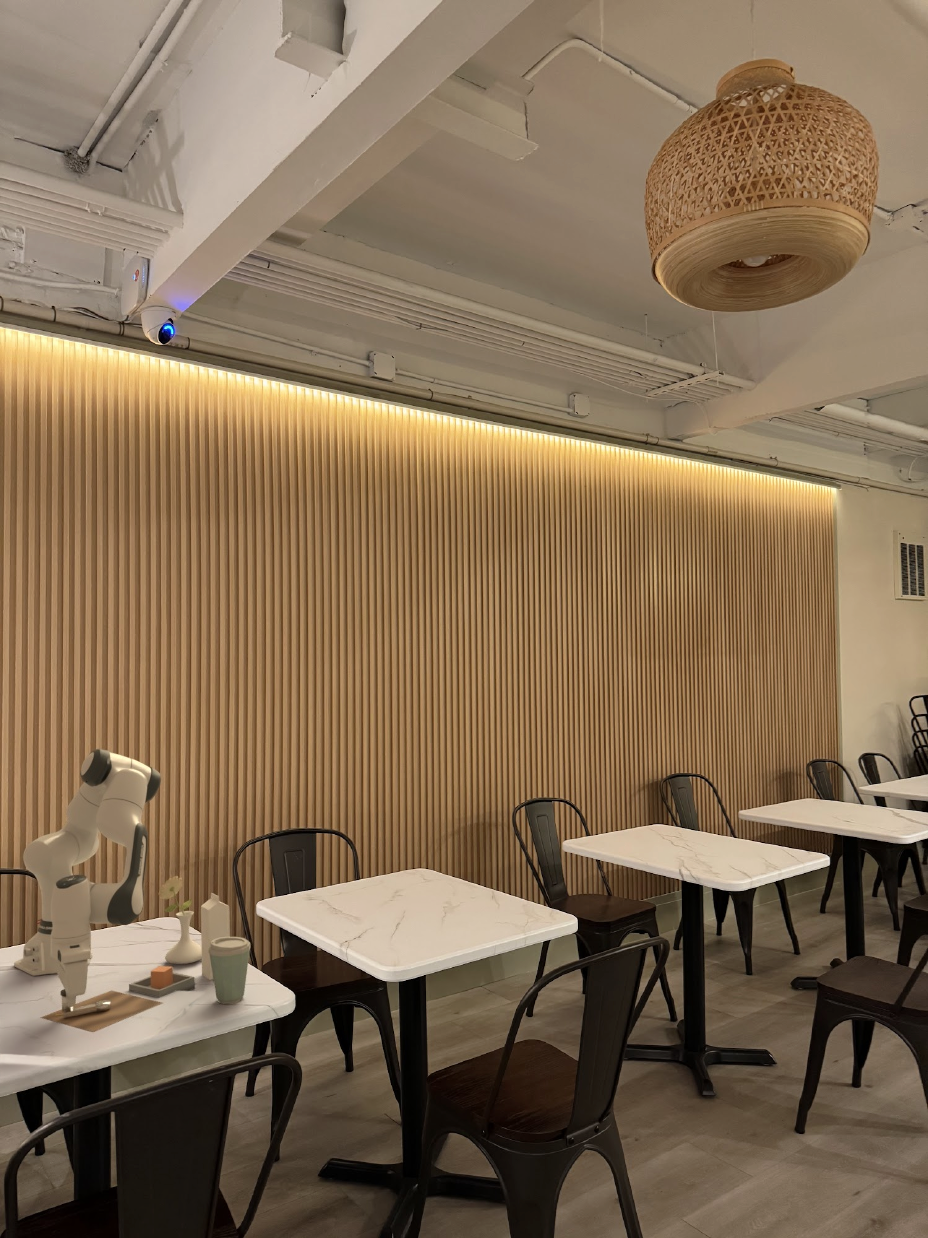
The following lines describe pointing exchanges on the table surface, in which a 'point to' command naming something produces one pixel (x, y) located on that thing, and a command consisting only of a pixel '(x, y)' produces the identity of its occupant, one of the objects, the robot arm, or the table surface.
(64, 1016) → the crank
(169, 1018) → the table surface
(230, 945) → the disposable coffee cup
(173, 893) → the flower in vase
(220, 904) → the milk
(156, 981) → the orange block
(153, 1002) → the plate
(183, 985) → the tray
